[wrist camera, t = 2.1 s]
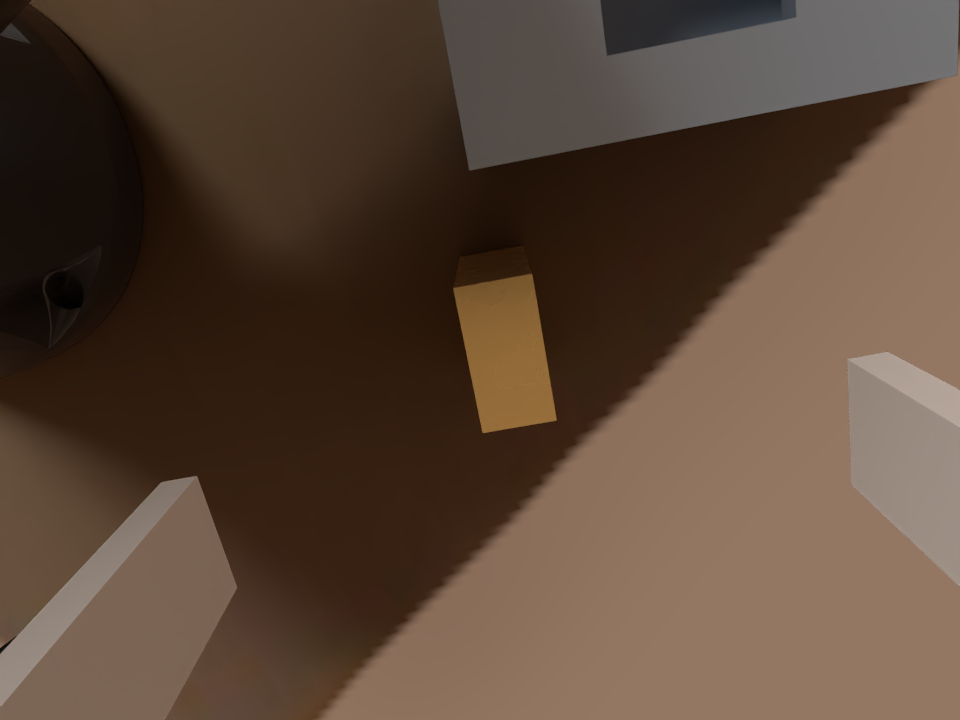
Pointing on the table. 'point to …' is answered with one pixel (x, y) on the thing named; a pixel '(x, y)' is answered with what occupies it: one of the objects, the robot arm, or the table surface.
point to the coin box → (672, 64)
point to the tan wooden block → (503, 339)
